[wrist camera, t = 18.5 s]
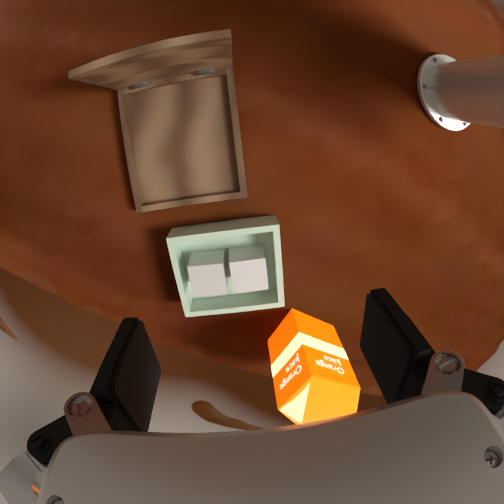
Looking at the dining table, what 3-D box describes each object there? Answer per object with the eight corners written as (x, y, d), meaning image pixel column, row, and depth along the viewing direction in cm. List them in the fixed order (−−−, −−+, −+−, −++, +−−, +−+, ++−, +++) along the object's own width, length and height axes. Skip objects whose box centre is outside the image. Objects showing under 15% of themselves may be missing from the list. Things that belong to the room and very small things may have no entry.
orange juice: (291, 307, 45) (321, 410, 27) (334, 325, 47) (374, 419, 29) (266, 341, 48) (281, 443, 29) (308, 356, 50) (334, 449, 32)
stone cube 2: (224, 248, 40) (222, 263, 36) (227, 277, 42) (227, 294, 38) (191, 252, 40) (187, 266, 36) (196, 280, 42) (193, 297, 37)
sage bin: (274, 215, 39) (279, 224, 35) (280, 291, 44) (284, 306, 40) (172, 227, 39) (166, 238, 35) (189, 301, 44) (185, 317, 40)
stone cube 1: (262, 243, 40) (265, 257, 36) (265, 272, 42) (268, 289, 38) (229, 248, 40) (228, 262, 36) (234, 277, 42) (234, 293, 38)
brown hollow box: (232, 64, 30) (230, 29, 18) (246, 194, 38) (253, 230, 25) (121, 86, 30) (68, 71, 18) (140, 209, 37) (99, 250, 25)
